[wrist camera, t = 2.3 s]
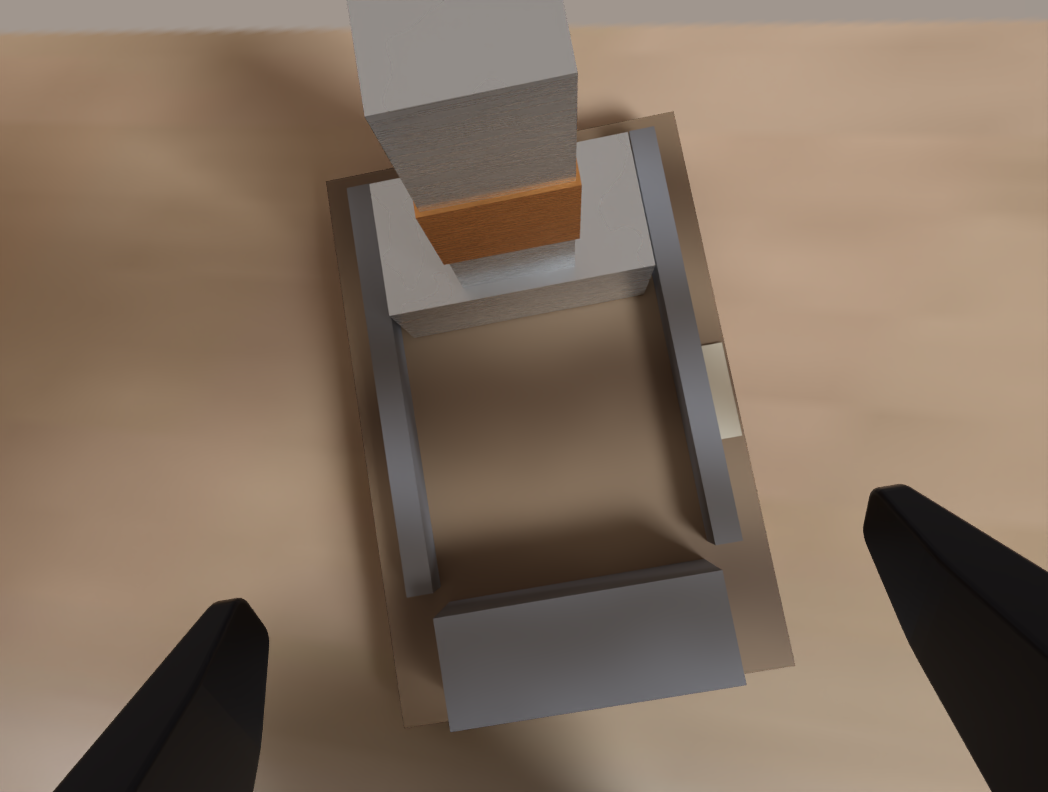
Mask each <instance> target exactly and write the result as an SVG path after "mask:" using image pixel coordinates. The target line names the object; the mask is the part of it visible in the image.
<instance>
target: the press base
mask: <svg viewBox="0 0 1048 792" xmlns="http://www.w3.org/2000/svg"><path fill="white" fill-rule="evenodd" d="M625 132H628V136H629V141H630V146H631V150H632V155H633V160H634V165H635V170H636V174H637V179H638V184H639V189H640V193H641V198H642V203H643V208H644V213H645V217H646V222H647V227H648V232H649V237H650V241H651V246H652V251H653V256H654V261H655V267H654V270H653V272H652V275H651V278H650V280H649V283H648V285H647V288H646V290H645V293H644V295H638V296H633V297H628V298H622V299H617V300H612V301H607V302H601V303H596V304H591V305H585V306H580V307H575V308H569V309H564V310H559V311H554V312H548V313H543V314H538V315H532V316H527V317H522V318H517V319H511V320H506V321H501V322H495V323H490V324H485V325H480V326H474V327H469V328H464V329H458V330H453V331H448V332H443V333H437V334H432V335H427V336H421V337H416V338H414V337H413V336H412V335H410V334H409V333H408V332H407V331H406V330H405V329H404V328H402V327H401V326H400V325H399V324H398V323H397V322H396V321H395V320H393V319H392V318H391V317H390V316H389V310H388V304H387V297H386V291H385V284H384V277H383V271H382V264H381V258H380V251H379V244H378V238H377V231H376V225H375V218H374V212H373V205H372V198H371V192H370V185H369V184H372V183H377V182H382V181H387V180H392V179H397V178H400V177H399V176H398V174H397V172H396V170H395V169H394V168H391V169H386V170H381V171H376V172H371V173H366V174H361V175H356V176H351V177H346V178H341V179H336V180H331V181H326V185H327V192H328V199H329V206H330V213H331V220H332V227H333V234H334V241H335V248H336V255H337V262H338V269H339V276H340V283H341V290H342V297H343V304H344V311H345V318H346V325H347V332H348V339H349V346H350V353H351V360H352V367H353V374H354V381H355V388H356V395H357V402H358V409H359V416H360V423H361V430H362V437H363V444H364V451H365V458H366V465H367V472H368V479H369V486H370V493H371V500H372V507H373V514H374V521H375V528H376V535H377V542H378V549H379V556H380V563H381V570H382V577H383V584H384V591H385V598H386V605H387V612H388V619H389V626H390V633H391V640H392V647H393V654H394V661H395V668H396V675H397V682H398V689H399V697H400V704H401V711H402V718H403V725H404V728H408V727H415V726H421V725H427V724H434V723H440V722H446V721H449V727H450V732H454V731H461V730H467V729H473V728H480V727H486V726H492V725H498V724H505V723H511V722H517V721H524V720H530V719H536V718H542V717H549V716H555V715H561V714H568V713H574V712H580V711H586V710H593V709H599V708H605V707H612V706H618V705H624V704H631V703H637V702H643V701H649V700H656V699H662V698H668V697H675V696H681V695H687V694H693V693H700V692H706V691H712V690H719V689H725V688H731V687H737V686H744V685H746V680H745V675H744V674H746V673H753V672H759V671H765V670H771V669H778V668H784V667H790V666H795V663H794V658H793V653H792V649H791V644H790V640H789V635H788V631H787V626H786V622H785V617H784V612H783V608H782V603H781V599H780V594H779V590H778V585H777V581H776V576H775V571H774V567H773V562H772V558H771V553H770V549H769V544H768V540H767V535H766V530H765V526H764V521H763V517H762V512H761V508H760V503H759V499H758V494H757V489H756V485H755V480H754V476H753V471H752V467H751V462H750V458H749V453H748V448H747V444H746V439H745V435H744V430H743V426H742V421H741V417H740V412H739V407H738V403H737V398H736V394H735V389H734V385H733V380H732V376H731V371H730V366H729V362H728V357H727V353H726V348H725V344H724V339H723V335H722V330H721V325H720V321H719V316H718V312H717V307H716V303H715V298H714V294H713V289H712V284H711V280H710V275H709V271H708V266H707V262H706V257H705V253H704V248H703V243H702V239H701V234H700V230H699V225H698V221H697V216H696V212H695V207H694V202H693V198H692V193H691V189H690V184H689V180H688V175H687V171H686V166H685V161H684V157H683V152H682V148H681V143H680V139H679V134H678V130H677V125H676V120H675V116H674V111H673V112H668V113H663V114H658V115H653V116H648V117H643V118H638V119H633V120H628V121H623V122H618V123H613V124H608V125H603V126H599V127H594V128H589V129H584V130H579V131H577V142H580V141H585V140H590V139H595V138H600V137H605V136H610V135H615V134H620V133H625Z"/></svg>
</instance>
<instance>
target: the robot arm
mask: <svg viewBox="0 0 1048 792" xmlns="http://www.w3.org/2000/svg"><path fill="white" fill-rule="evenodd" d="M863 533H864V538H865V542H866V545H867V547H868V549H869V552H870V554H871V556H872V559H873V561H874V563H875V566H876V568H877V571H878V573H879V575H880V578H881V580H882V582H883V585H884V587H885V589H886V592H887V594H888V596H889V599H890V601H891V603H892V606H893V608H894V611H895V613H896V615H897V618H898V620H899V622H900V625H901V627H902V629H903V631H904V634H905V636H906V638H907V640H908V642H909V645H910V646H911V648H912V650H913V652H914V654H915V656H916V658H917V660H918V662H919V663H920V665H921V667H922V669H923V670H924V672H925V674H926V676H927V678H928V679H929V681H930V683H931V685H932V686H933V688H934V690H935V692H936V694H937V695H938V697H939V699H940V701H941V702H942V704H943V706H944V708H945V710H946V711H947V713H948V715H949V717H950V718H951V720H952V722H953V724H954V726H955V727H956V729H957V731H958V733H959V735H960V736H961V738H962V740H963V742H964V743H965V745H966V747H967V749H968V751H969V752H970V754H971V756H972V758H973V759H974V761H975V763H976V765H977V767H978V768H979V770H980V772H981V774H982V775H983V777H984V779H985V781H986V783H987V784H988V786H989V788H990V790H991V792H1048V572H1047V571H1046V570H1044V569H1042V568H1041V567H1039V566H1038V565H1036V564H1034V563H1033V562H1031V561H1030V560H1028V559H1026V558H1025V557H1023V556H1021V555H1020V554H1018V553H1017V552H1015V551H1013V550H1012V549H1010V548H1008V547H1007V546H1005V545H1004V544H1002V543H1000V542H999V541H997V540H995V539H994V538H992V537H991V536H989V535H987V534H986V533H984V532H982V531H981V530H979V529H978V528H976V527H974V526H973V525H971V524H969V523H968V522H966V521H965V520H963V519H961V518H960V517H958V516H956V515H955V514H953V513H952V512H950V511H948V510H947V509H945V508H943V507H942V506H940V505H939V504H937V503H935V502H934V501H932V500H930V499H929V498H927V497H926V496H924V495H922V494H921V493H919V492H917V491H916V490H914V489H913V488H911V487H909V486H906V485H903V484H896V485H890V486H884V487H878V488H875V489H874V490H873V491H872V492H871V493H870V496H869V501H868V506H867V511H866V515H865V520H864V525H863ZM268 653H269V636H268V632H267V629H266V627H265V626H264V624H263V623H262V622H261V620H260V619H259V618H258V616H257V615H256V613H255V612H254V611H253V609H252V608H251V606H250V605H249V604H248V602H247V601H246V600H244V599H242V598H234V599H229V600H223V601H218V602H215V603H213V604H212V605H211V606H210V607H209V608H208V609H207V610H206V611H205V612H204V613H203V615H202V616H201V617H200V618H199V619H198V621H197V622H196V623H195V624H194V625H193V627H192V628H191V629H190V630H189V631H188V632H187V634H186V635H185V636H184V637H183V638H182V640H181V641H180V642H179V643H178V644H177V645H176V647H175V648H174V649H173V650H172V651H171V653H170V654H169V655H168V656H167V657H166V658H165V660H164V661H163V662H162V663H161V664H160V666H159V667H158V668H157V669H156V670H155V671H154V673H153V674H152V675H151V676H150V677H149V679H148V680H147V681H146V682H145V683H144V684H143V686H142V687H141V688H140V689H139V690H138V692H137V693H136V694H135V695H134V696H133V698H132V699H131V700H130V701H129V702H128V703H127V705H126V706H125V707H124V708H123V709H122V711H121V712H120V713H119V714H118V715H117V716H116V718H115V719H114V720H113V721H112V722H111V724H110V725H109V726H108V727H107V728H106V729H105V731H104V732H103V733H102V734H101V735H100V737H99V738H98V739H97V740H96V741H95V742H94V744H93V745H92V746H91V747H90V748H89V750H88V751H87V752H86V753H85V754H84V755H83V757H82V758H81V759H80V760H79V761H78V763H77V764H76V765H75V766H74V767H73V769H72V770H71V771H70V772H69V773H68V774H67V776H66V777H65V778H64V779H63V780H62V782H61V783H60V784H59V785H58V786H57V787H56V789H55V790H54V791H53V792H253V789H254V784H255V778H256V773H257V767H258V761H259V755H260V749H261V740H262V730H263V717H264V705H265V692H266V679H267V666H268Z"/></svg>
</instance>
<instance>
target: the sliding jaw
mask: <svg viewBox="0 0 1048 792" xmlns="http://www.w3.org/2000/svg"><path fill="white" fill-rule="evenodd" d="M347 5H348V11H349V18H350V25H351V31H352V38H353V44H354V51H355V57H356V64H357V70H358V77H359V83H360V90H361V97H362V103H363V110H364V116H365V118H366V120H367V122H368V123H369V125H370V127H371V129H372V130H373V132H374V134H375V136H376V137H377V139H378V141H379V142H380V144H381V146H382V148H383V149H384V151H385V153H386V155H387V156H388V158H389V160H390V162H391V163H392V165H393V167H394V169H395V170H396V172H397V174H398V176H399V177H400V178H397V179H392V180H387V181H382V182H377V183H372V184H369V185H370V192H371V198H372V205H373V212H374V218H375V225H376V231H377V238H378V244H379V251H380V258H381V264H382V271H383V277H384V284H385V291H386V297H387V304H388V310H389V316H390V317H391V318H392V319H393V320H395V321H396V322H397V323H398V324H399V325H400V326H401V327H402V328H404V329H405V330H406V331H407V332H408V333H409V334H410V335H412V336H413V337H414V338H416V337H421V336H427V335H432V334H437V333H443V332H448V331H453V330H458V329H464V328H469V327H474V326H480V325H485V324H490V323H495V322H501V321H506V320H511V319H517V318H522V317H527V316H532V315H538V314H543V313H548V312H554V311H559V310H564V309H569V308H575V307H580V306H585V305H591V304H596V303H601V302H607V301H612V300H617V299H622V298H628V297H633V296H638V295H644V293H645V290H646V288H647V285H648V283H649V280H650V278H651V275H652V272H653V270H654V267H655V261H654V256H653V251H652V246H651V241H650V237H649V232H648V227H647V222H646V217H645V213H644V208H643V203H642V198H641V193H640V189H639V184H638V179H637V174H636V170H635V165H634V160H633V155H632V150H631V146H630V141H629V136H628V132H625V133H620V134H615V135H610V136H605V137H600V138H595V139H590V140H585V141H580V142H577V80H578V72H577V67H576V62H575V57H574V52H573V47H572V42H571V37H570V32H569V27H568V22H567V17H566V12H565V7H564V2H563V0H347Z"/></svg>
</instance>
